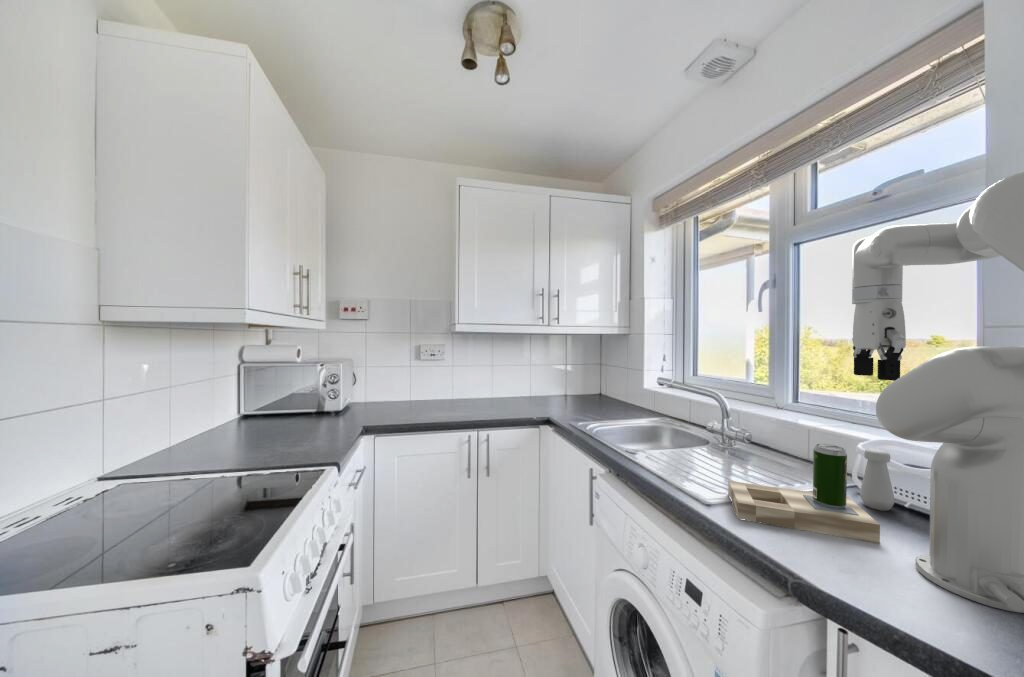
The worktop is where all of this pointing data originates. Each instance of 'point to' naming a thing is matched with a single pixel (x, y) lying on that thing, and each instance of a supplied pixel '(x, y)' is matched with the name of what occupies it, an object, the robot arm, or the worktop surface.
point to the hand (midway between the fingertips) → (875, 377)
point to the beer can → (830, 476)
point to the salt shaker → (877, 481)
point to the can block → (801, 512)
